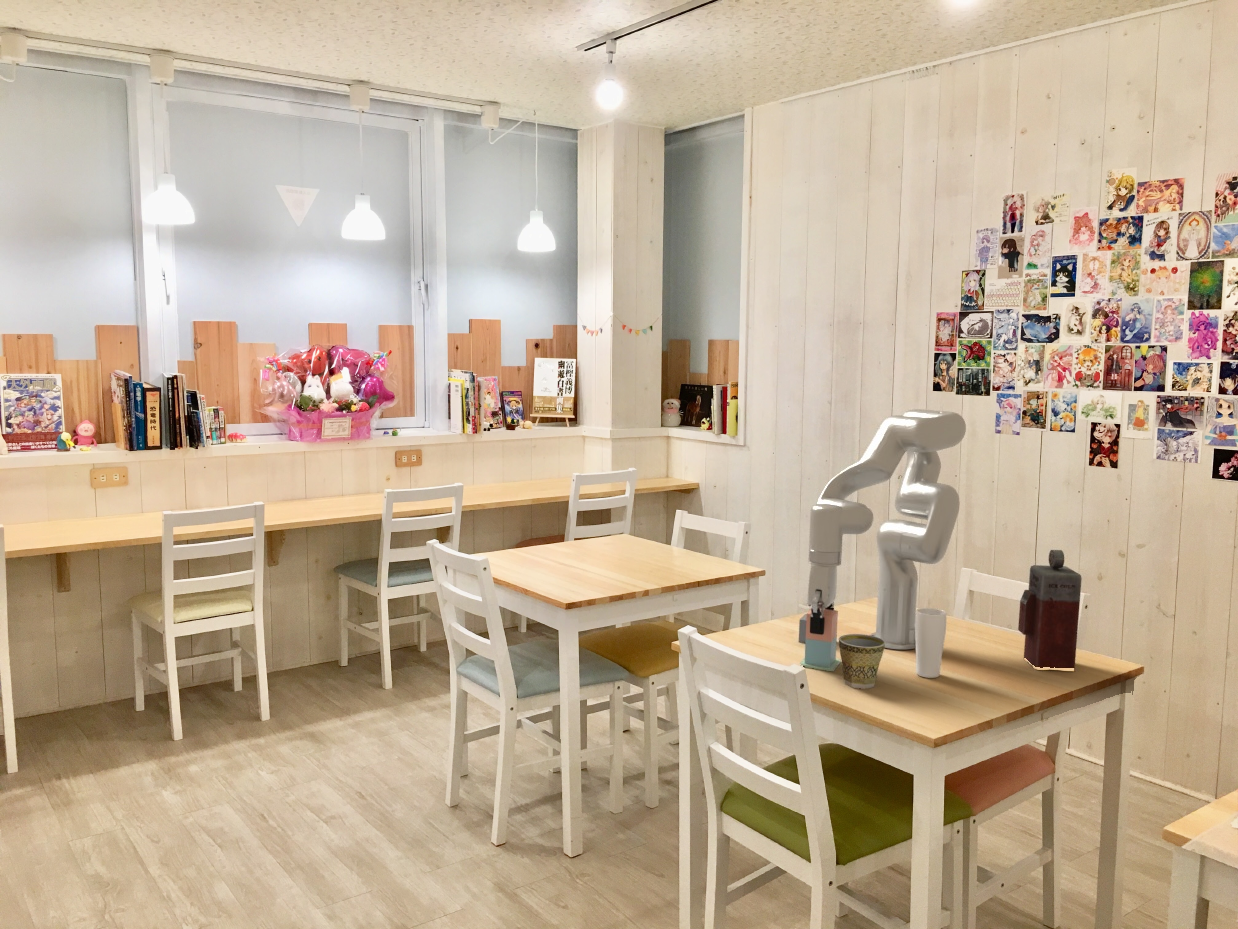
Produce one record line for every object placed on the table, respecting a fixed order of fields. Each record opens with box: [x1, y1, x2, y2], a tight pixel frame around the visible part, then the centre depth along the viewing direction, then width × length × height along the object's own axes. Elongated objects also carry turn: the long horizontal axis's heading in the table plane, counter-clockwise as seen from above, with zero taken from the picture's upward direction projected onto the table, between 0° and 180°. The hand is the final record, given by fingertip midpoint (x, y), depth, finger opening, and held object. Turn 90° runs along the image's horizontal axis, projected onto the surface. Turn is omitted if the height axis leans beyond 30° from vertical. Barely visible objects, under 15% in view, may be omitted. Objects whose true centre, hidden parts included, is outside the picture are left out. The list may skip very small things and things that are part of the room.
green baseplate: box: [799, 657, 842, 672], centre depth 234 cm, size 8×8×1 cm
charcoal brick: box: [798, 613, 807, 644], centre depth 253 cm, size 6×6×6 cm
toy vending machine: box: [1017, 549, 1083, 669], centre depth 236 cm, size 9×11×28 cm
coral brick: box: [806, 609, 839, 642], centre depth 233 cm, size 6×6×6 cm
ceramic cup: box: [838, 633, 885, 690], centre depth 222 cm, size 13×10×10 cm
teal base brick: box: [804, 635, 838, 667], centre depth 234 cm, size 6×6×6 cm
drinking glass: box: [915, 607, 948, 679], centre depth 227 cm, size 7×7×15 cm
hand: (821, 628), depth 233 cm, fingers open, 9 cm apart
